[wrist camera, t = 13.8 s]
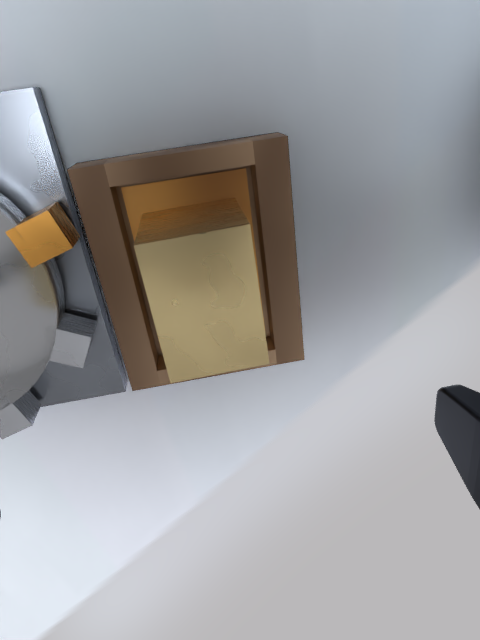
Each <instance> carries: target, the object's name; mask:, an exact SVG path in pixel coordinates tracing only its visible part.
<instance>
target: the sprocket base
mask: <svg viewBox="0 0 480 640" xmlns="http://www.w3.org/2000/svg"><path fill="white" fill-rule="evenodd" d="M0 193H1V194H3V195H4V196H5V197H7V198H8V199H9V200H10V201H11V202H12V203H13V204H14V205H15V206H16V207H18V208H19V209H20V210H21V211H22V212H23V213H24V214H25V216H26V217H28V216H29V215H31V214H33V213H35V212H37V211H39V210H41V209H43V208H45V207H47V206H49V205H51V204H53V203H55V202H57V201H58V202H59V204H60V205H61V207H62V209H63V210H64V212H65V213H66V215H67V216H68V218H69V219H70V221H71V222H72V224H73V225H74V227H75V229H76V230H77V232H78V233H79V235H80V238H79V239H78V241H77V242H76V244H75V245H74V247H73V248H72V249H70V250H68V251H66V252H64V253H62V254H60V255H58V256H55V257H54V259H55V261H56V264H57V267H58V270H59V273H60V276H61V280H62V285H63V290H64V299H65V313H69V314H73V315H77V316H80V317H84V318H88V319H92V320H96V321H97V323H96V326H95V330H94V334H93V338H92V341H91V345H90V349H89V352H88V355H87V358H86V361H85V364H84V367H83V368H79V367H75V366H70V365H66V364H62V363H57V362H53V361H49V362H48V364H47V366H46V368H45V370H44V371H43V373H42V374H41V376H40V377H39V379H38V380H37V382H36V383H35V384H34V385H33V386H32V387H31V388H30V389H29V390H30V391H31V393H32V394H33V395H34V396H35V397H36V398H37V400H38V401H39V402H40V403H41V406H40V407H43V406H48V405H54V404H59V403H65V402H70V401H76V400H81V399H87V398H92V397H98V396H103V395H109V394H114V393H120V392H125V391H126V385H127V379H126V375H125V372H124V369H123V365H122V362H121V359H120V355H119V352H118V349H117V345H116V342H115V339H114V335H113V332H112V329H111V325H110V322H109V319H108V315H107V312H106V309H105V305H104V302H103V298H102V295H101V292H100V288H99V285H98V282H97V278H96V275H95V272H94V268H93V265H92V262H91V258H90V255H89V252H88V248H87V245H86V242H85V238H84V235H83V232H82V228H81V225H80V222H79V218H78V215H77V211H76V208H75V205H74V201H73V198H72V195H71V191H70V188H69V185H68V181H67V178H66V175H65V171H64V168H63V165H62V161H61V158H60V155H59V151H58V148H57V145H56V141H55V138H54V135H53V131H52V128H51V125H50V121H49V118H48V114H47V111H46V108H45V104H44V101H43V98H42V94H41V91H40V88H37V87H31V88H24V89H17V90H10V91H3V92H0Z"/></svg>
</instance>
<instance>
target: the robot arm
mask: <svg viewBox="0 0 480 640" xmlns="http://www.w3.org/2000/svg"><path fill="white" fill-rule="evenodd" d="M435 410H436V411H435V426H436V429H437V432H438V434H439V436H440V437H441V439H442V441H443V443H444V445H445V447H446V449H447V451H448V453H449V455H450V456H451V458H452V460H453V462H454V464H455V466H456V468H457V470H458V472H459V473H460V476H461V477H462V479H463V481H464V483H465V485H466V487H467V489H468V491H469V492H470V494H471V496H472V498H473V499H474V501H475V502H476V504H477V506H478V507H479V509H480V393H479V392H476V391H474V390H472V389H469V388H467V387H465V386H462V385H452V386H447V387H442V388H440V389H439V390H438V392H437V398H436V409H435ZM0 517H1V512H0Z"/></svg>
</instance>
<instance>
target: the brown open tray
mask: <svg viewBox="0 0 480 640" xmlns="http://www.w3.org/2000/svg"><path fill="white" fill-rule="evenodd" d="M67 171H68V174H69V178H70V181H71V184H72V188H73V191H74V194H75V198H76V201H77V205H78V208H79V211H80V215H81V218H82V222H83V225H84V228H85V232H86V235H87V238H88V242H89V245H90V249H91V252H92V255H93V259H94V262H95V265H96V269H97V272H98V276H99V279H100V282H101V286H102V289H103V293H104V296H105V299H106V303H107V306H108V309H109V313H110V316H111V320H112V323H113V326H114V330H115V333H116V336H117V340H118V343H119V347H120V350H121V353H122V357H123V360H124V364H125V367H126V370H127V374H128V377H129V380H130V384H131V387H132V391H134V390H140V389H145V388H151V387H156V386H162V385H167V384H173V383H170V380H169V376H168V372H167V368H166V365H165V361H164V357H163V354H162V350H161V346H160V342H159V339H158V335H157V331H156V327H155V324H154V320H153V316H152V313H151V309H150V305H149V301H148V298H147V294H146V290H145V286H144V283H143V279H142V275H141V272H140V268H139V264H138V260H137V257H136V253H135V249H134V242H135V238H136V235H137V231H138V228H139V224H140V220H141V217H142V214H143V213H148V212H154V211H160V210H165V209H171V208H176V207H182V206H188V205H193V204H199V203H204V202H210V201H216V200H221V199H227V198H232V197H235V199H236V201H237V202H238V204H239V206H240V208H241V209H242V211H243V213H244V215H245V216H246V218H247V220H248V222H249V223H250V227H251V234H252V241H253V249H254V256H255V263H256V270H257V277H258V284H259V292H260V299H261V306H262V313H263V320H264V327H265V335H266V342H267V349H268V356H269V363H270V364H266V365H261V366H256V367H251V368H246V369H241V370H235V371H230V372H225V373H220V374H215V375H210V376H205V377H200V378H206V377H211V376H217V375H222V374H228V373H233V372H239V371H244V370H250V369H255V368H261V367H266V366H272V365H277V364H283V363H288V362H294V361H299V360H304V348H303V335H302V322H301V308H300V295H299V282H298V268H297V255H296V241H295V228H294V215H293V201H292V188H291V175H290V161H289V148H288V136H286V135H284V134H281V133H278V132H277V133H270V134H264V135H257V136H251V137H244V138H238V139H231V140H225V141H218V142H212V143H205V144H199V145H192V146H186V147H179V148H172V149H166V150H159V151H153V152H146V153H140V154H133V155H127V156H120V157H114V158H107V159H101V160H94V161H88V162H81V163H76V164H75V165H73V166H72V167H70V168H69V169H68V170H67ZM200 378H195V379H200ZM195 379H190V380H195ZM185 381H189V380H185ZM180 382H184V381H180ZM175 383H178V382H175Z"/></svg>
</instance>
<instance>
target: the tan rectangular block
mask: <svg viewBox="0 0 480 640" xmlns="http://www.w3.org/2000/svg"><path fill="white" fill-rule="evenodd" d="M134 249H135V253H136V257H137V260H138V264H139V268H140V272H141V275H142V279H143V283H144V286H145V290H146V294H147V298H148V301H149V305H150V309H151V313H152V316H153V320H154V324H155V327H156V331H157V335H158V339H159V342H160V346H161V350H162V354H163V357H164V361H165V365H166V368H167V372H168V376H169V380H170V383H175V382H180V381H185V380H190V379H195V378H200V377H205V376H210V375H215V374H220V373H225V372H230V371H235V370H241V369H246V368H251V367H256V366H261V365H266V364H270V363H269V356H268V349H267V342H266V335H265V327H264V320H263V313H262V306H261V299H260V292H259V284H258V277H257V270H256V263H255V256H254V249H253V241H252V234H251V227H250V223H249V222H248V220H247V218H246V216H245V215H244V213H243V211H242V209H241V208H240V206H239V204H238V202H237V201H236V199H235V197H232V198H227V199H221V200H216V201H210V202H204V203H199V204H193V205H188V206H182V207H176V208H171V209H165V210H160V211H154V212H148V213H143V214H142V217H141V220H140V224H139V228H138V231H137V235H136V238H135V242H134Z"/></svg>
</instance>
